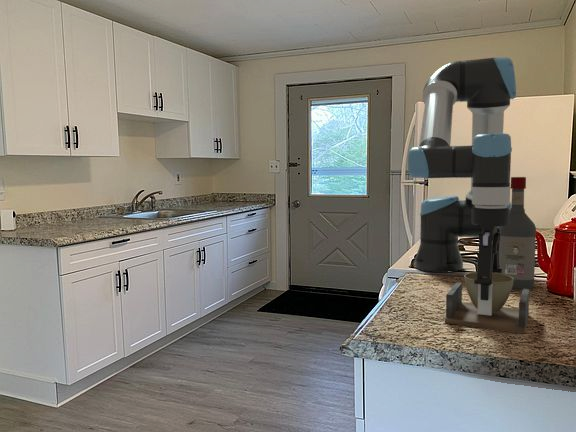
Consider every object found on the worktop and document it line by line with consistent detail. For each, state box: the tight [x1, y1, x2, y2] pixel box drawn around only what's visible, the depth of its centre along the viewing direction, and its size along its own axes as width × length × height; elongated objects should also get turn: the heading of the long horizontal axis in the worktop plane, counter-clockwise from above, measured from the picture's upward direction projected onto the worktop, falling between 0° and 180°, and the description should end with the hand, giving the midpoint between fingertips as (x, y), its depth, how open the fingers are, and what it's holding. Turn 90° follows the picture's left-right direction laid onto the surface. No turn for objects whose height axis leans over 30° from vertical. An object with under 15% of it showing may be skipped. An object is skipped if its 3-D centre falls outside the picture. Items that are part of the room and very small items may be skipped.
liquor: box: [499, 176, 537, 291], centre depth 130 cm, size 9×9×30 cm
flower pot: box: [463, 271, 514, 312], centre depth 104 cm, size 10×10×7 cm
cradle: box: [444, 282, 530, 335], centre depth 105 cm, size 14×15×6 cm
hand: (488, 307), depth 105 cm, fingers closed on flower pot, 10 cm apart
